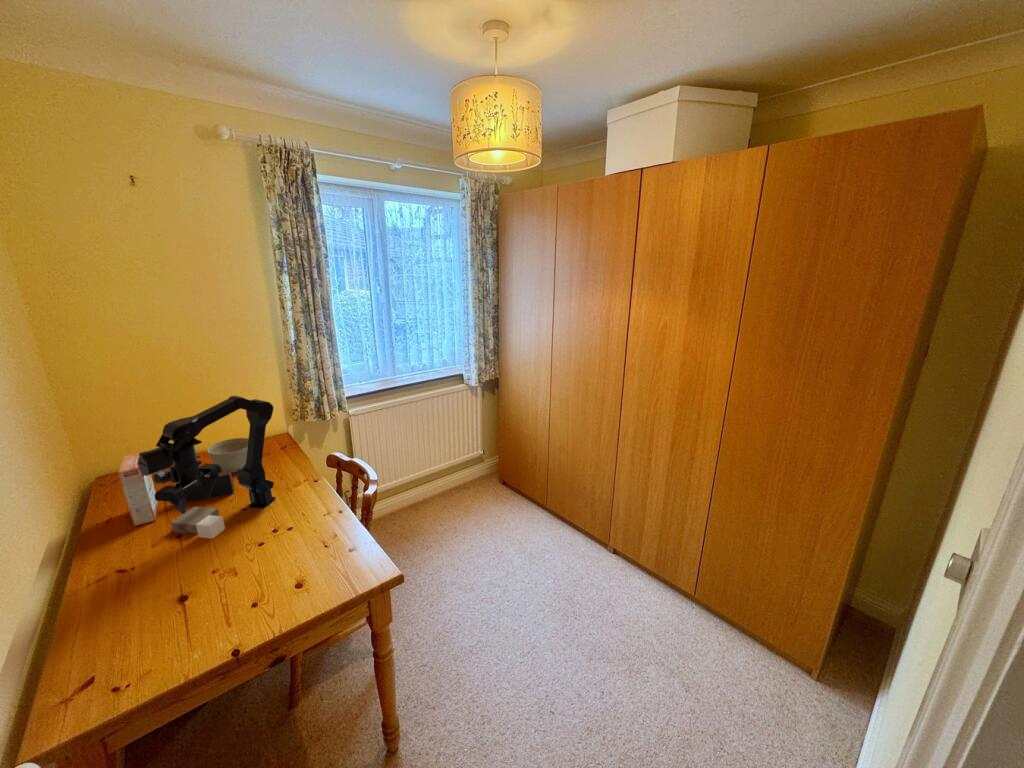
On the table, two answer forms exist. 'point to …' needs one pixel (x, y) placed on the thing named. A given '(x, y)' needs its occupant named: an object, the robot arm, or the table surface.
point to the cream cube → (210, 526)
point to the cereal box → (138, 491)
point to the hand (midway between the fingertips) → (195, 504)
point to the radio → (220, 488)
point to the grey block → (192, 519)
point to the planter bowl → (229, 454)
